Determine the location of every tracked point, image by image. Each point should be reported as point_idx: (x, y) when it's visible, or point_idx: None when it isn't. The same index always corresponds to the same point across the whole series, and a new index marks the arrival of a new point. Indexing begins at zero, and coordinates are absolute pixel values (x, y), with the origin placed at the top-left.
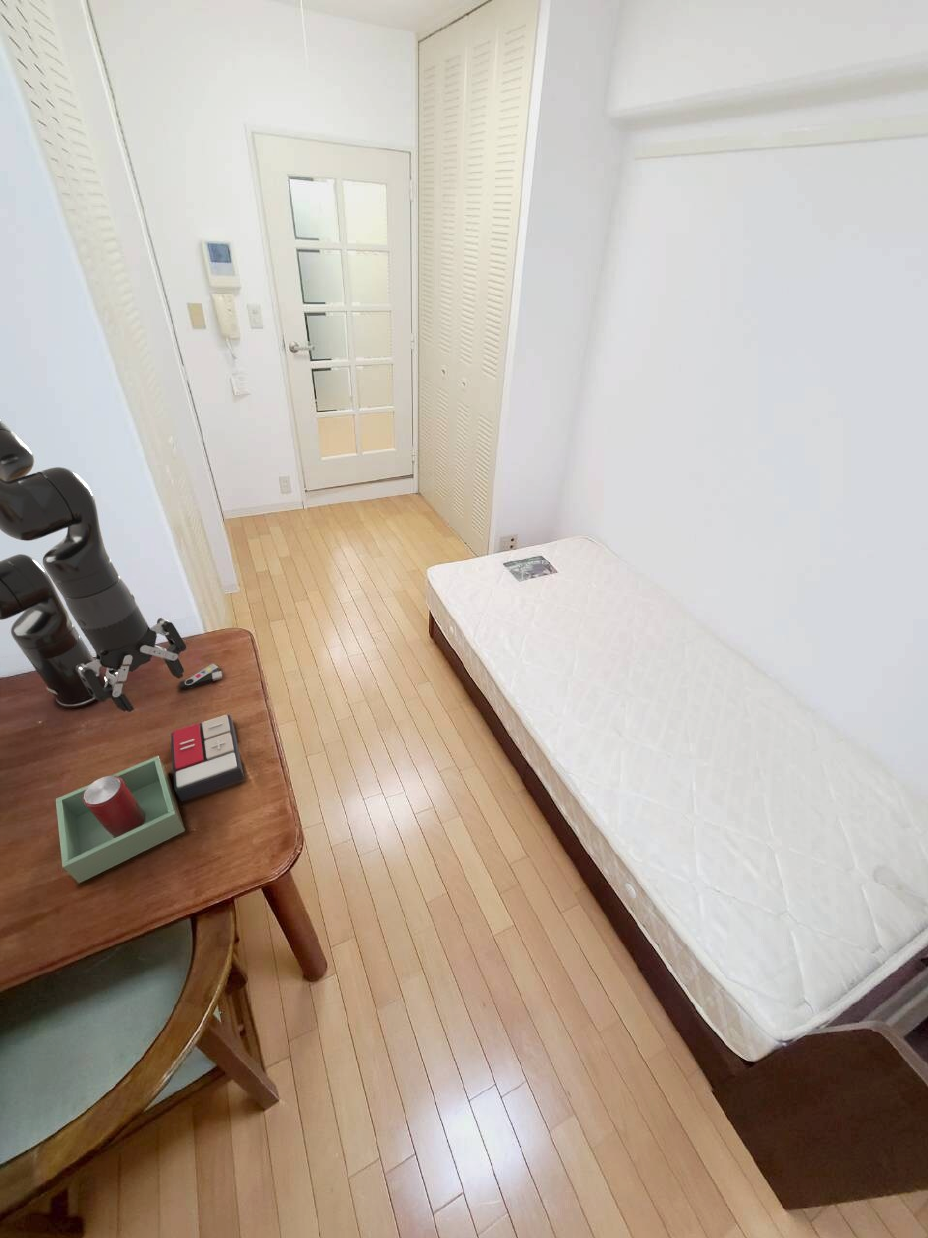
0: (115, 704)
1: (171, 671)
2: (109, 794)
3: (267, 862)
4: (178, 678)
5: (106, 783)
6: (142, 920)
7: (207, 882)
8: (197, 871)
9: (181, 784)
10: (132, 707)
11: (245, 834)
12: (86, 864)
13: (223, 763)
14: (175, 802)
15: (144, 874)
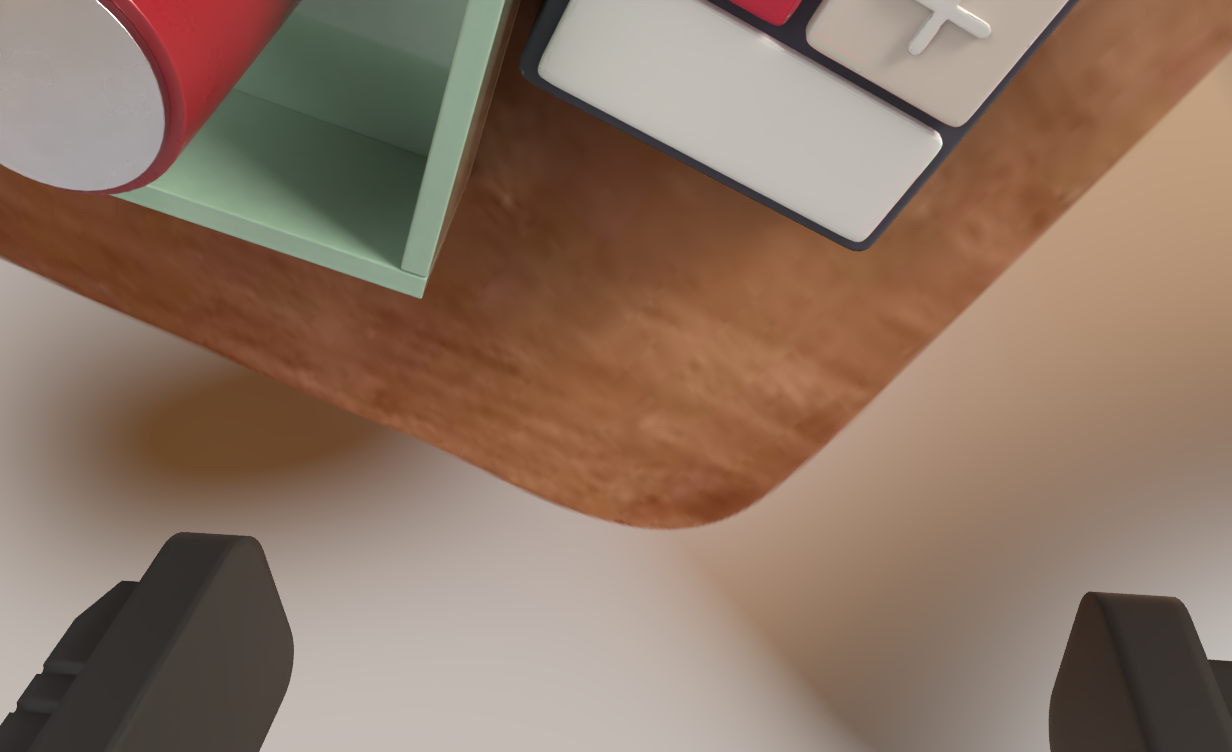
0: (44, 674)
1: (1111, 694)
2: (78, 162)
3: (622, 499)
4: (1055, 692)
5: (69, 52)
6: (188, 329)
7: (428, 399)
8: (419, 346)
9: (566, 84)
10: (269, 717)
11: (644, 380)
12: None
13: (836, 162)
14: (496, 70)
15: None
